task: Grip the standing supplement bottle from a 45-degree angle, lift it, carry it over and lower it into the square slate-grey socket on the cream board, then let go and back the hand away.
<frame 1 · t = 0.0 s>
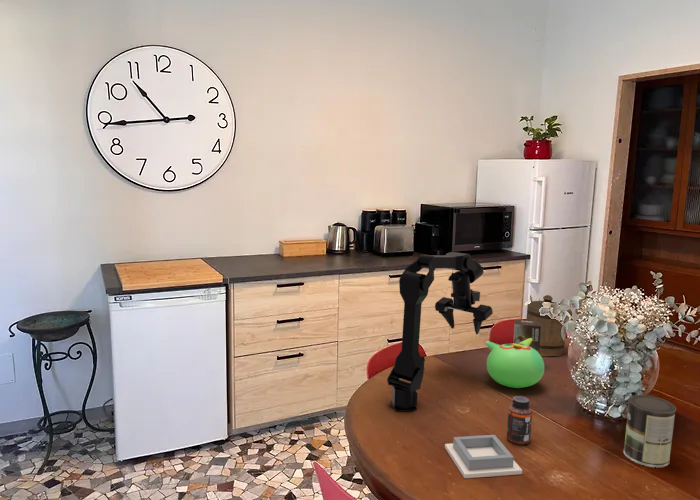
hand: (465, 331, 187), 15 cm above the table, fingers open, 9 cm apart
toy bird: (513, 385, 182), on the table
cup holder: (481, 460, 135), on the table
coffee box: (525, 366, 199), on the table
wooden container: (543, 351, 216), on the table
coffee can: (646, 457, 138), on the table
supplement bottle: (518, 440, 145), on the table
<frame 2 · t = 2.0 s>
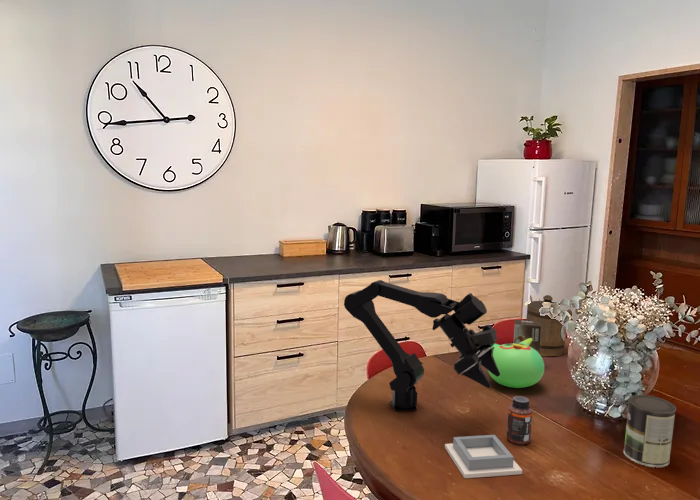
hand: (494, 381, 149), 14 cm above the table, fingers open, 9 cm apart
nothing on the table moved.
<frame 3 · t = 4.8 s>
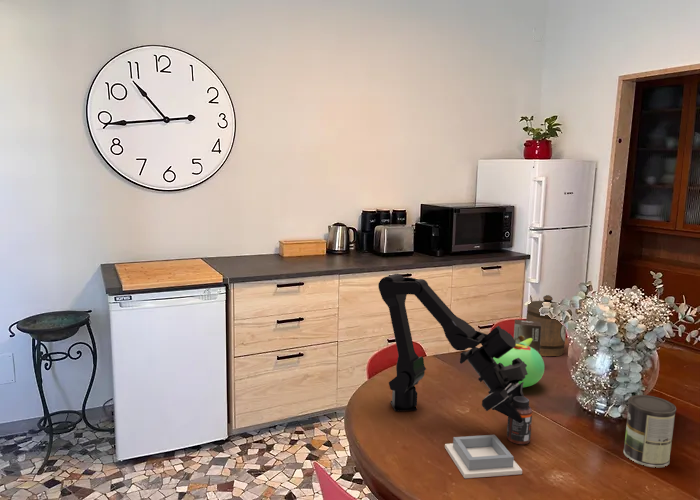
hand: (525, 417, 143), 7 cm above the table, fingers open, 6 cm apart
supplement bottle: (518, 440, 145), on the table, touching gripper
everything else where it was.
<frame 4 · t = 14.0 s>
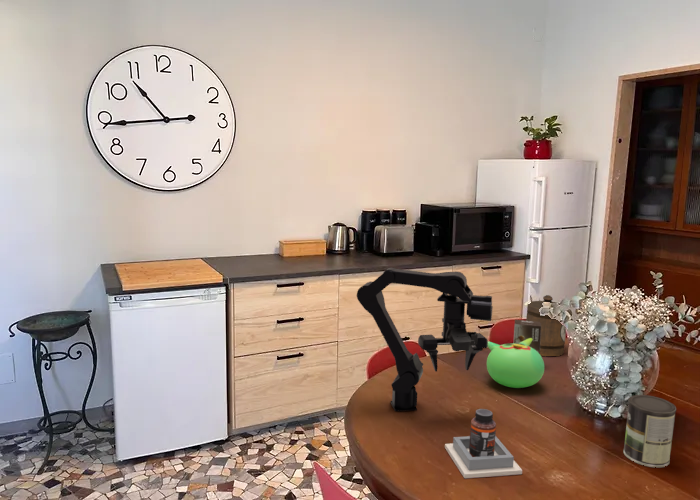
hand: (451, 370, 158), 13 cm above the table, fingers open, 9 cm apart
supplement bottle: (481, 456, 135), point 1 cm above the table, touching cup holder
everything else where it was.
at the end: supplement bottle 0.2 cm off-centre on the cup holder, point 0.8 cm above the cup holder's base; supplement bottle tilted 0°; the gripper is holding nothing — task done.
